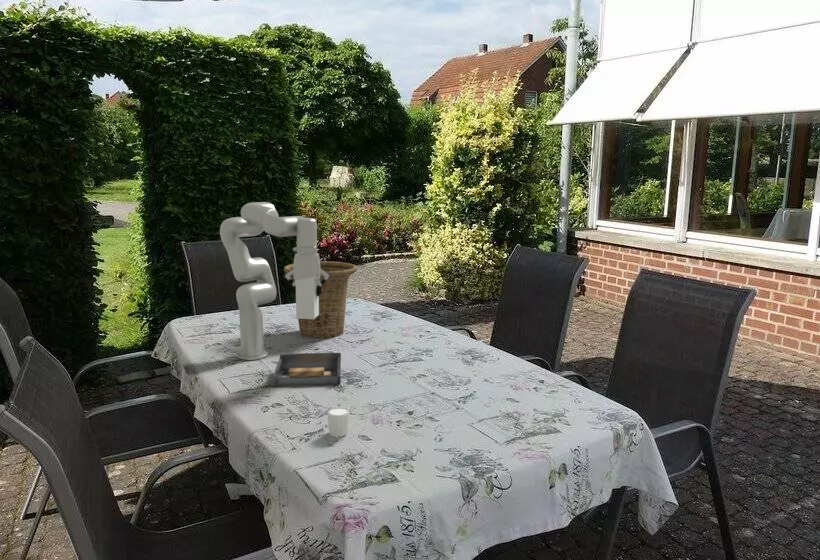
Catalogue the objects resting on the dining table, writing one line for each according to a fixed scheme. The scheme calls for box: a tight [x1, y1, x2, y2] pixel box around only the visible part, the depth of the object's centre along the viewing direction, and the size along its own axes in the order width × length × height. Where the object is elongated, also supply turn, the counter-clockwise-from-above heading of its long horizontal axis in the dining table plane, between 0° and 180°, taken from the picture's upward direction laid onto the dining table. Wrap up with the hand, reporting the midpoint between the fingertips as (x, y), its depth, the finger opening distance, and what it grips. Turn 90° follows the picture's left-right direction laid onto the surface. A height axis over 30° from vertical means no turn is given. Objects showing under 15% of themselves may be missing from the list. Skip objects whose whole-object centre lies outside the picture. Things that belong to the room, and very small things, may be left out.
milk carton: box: [295, 277, 319, 319], centre depth 240 cm, size 7×7×19 cm
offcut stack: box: [288, 367, 332, 377], centre depth 235 cm, size 16×5×5 cm, turn 96°
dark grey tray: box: [274, 352, 342, 387], centre depth 241 cm, size 24×18×7 cm
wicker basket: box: [283, 260, 358, 339], centre depth 304 cm, size 35×35×33 cm
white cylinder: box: [326, 407, 351, 437], centre depth 190 cm, size 7×7×7 cm
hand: (307, 295), depth 240 cm, fingers closed on milk carton, 8 cm apart
